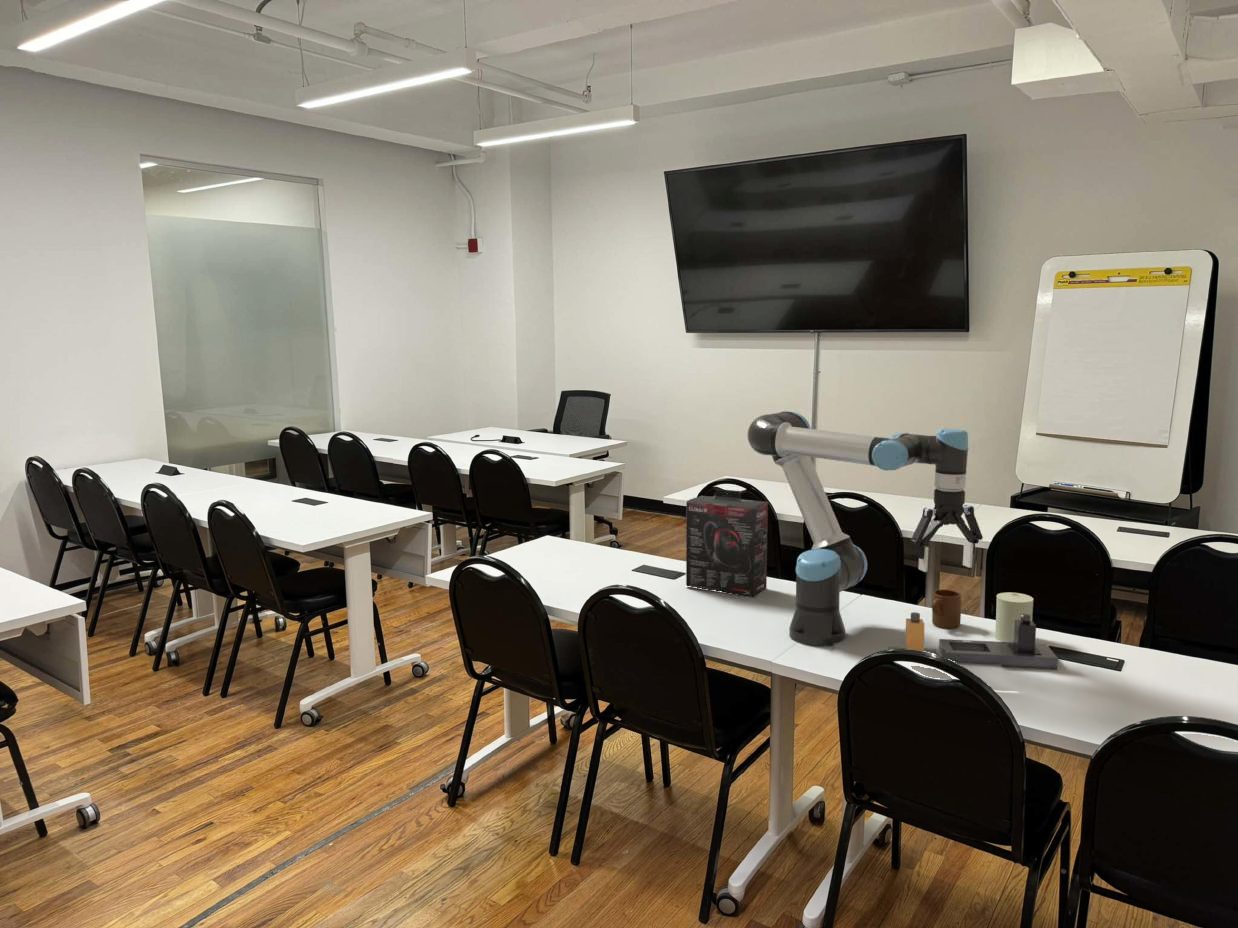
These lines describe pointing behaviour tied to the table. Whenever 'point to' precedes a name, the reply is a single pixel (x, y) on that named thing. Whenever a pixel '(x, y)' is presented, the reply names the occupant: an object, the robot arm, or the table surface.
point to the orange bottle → (914, 633)
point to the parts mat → (924, 649)
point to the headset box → (726, 543)
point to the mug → (946, 609)
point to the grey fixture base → (1003, 649)
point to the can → (1010, 613)
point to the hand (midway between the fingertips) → (945, 568)
